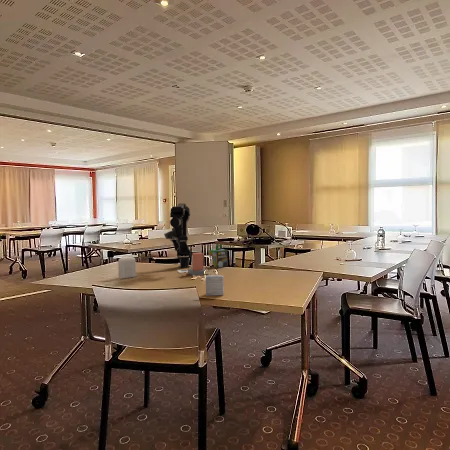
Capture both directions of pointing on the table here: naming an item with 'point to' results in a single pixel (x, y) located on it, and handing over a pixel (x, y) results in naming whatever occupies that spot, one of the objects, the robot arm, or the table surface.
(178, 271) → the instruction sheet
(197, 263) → the red block
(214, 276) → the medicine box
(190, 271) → the base brick
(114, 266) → the table surface
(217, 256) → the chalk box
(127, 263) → the photo printer
